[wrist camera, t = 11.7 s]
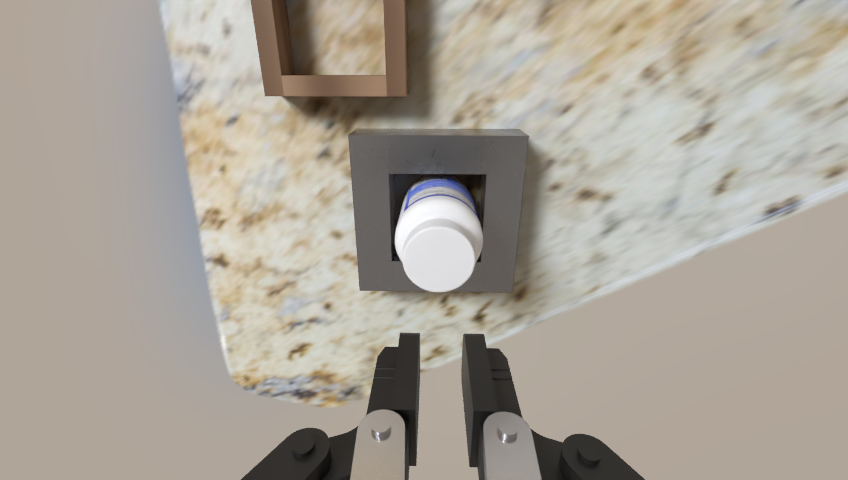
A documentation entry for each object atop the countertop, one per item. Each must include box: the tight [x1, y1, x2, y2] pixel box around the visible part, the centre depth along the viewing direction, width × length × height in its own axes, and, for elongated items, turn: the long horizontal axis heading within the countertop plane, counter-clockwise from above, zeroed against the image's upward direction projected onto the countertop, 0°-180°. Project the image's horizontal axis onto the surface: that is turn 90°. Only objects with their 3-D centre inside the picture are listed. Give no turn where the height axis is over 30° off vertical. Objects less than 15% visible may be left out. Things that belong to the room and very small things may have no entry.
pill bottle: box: [395, 174, 483, 292], centre depth 25 cm, size 5×5×10 cm
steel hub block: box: [348, 129, 529, 292], centre depth 29 cm, size 12×12×3 cm
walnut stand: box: [251, 0, 408, 96], centre depth 24 cm, size 9×9×2 cm
